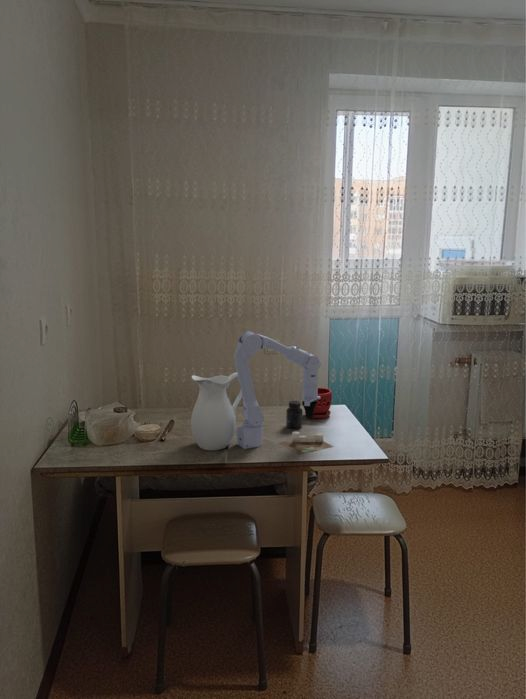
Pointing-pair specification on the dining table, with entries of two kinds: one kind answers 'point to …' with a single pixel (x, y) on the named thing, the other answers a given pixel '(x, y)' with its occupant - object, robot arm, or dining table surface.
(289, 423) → the supplement bottle
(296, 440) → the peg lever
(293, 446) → the brown wooden board
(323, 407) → the plant pot
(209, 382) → the pitcher
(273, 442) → the dining table surface
